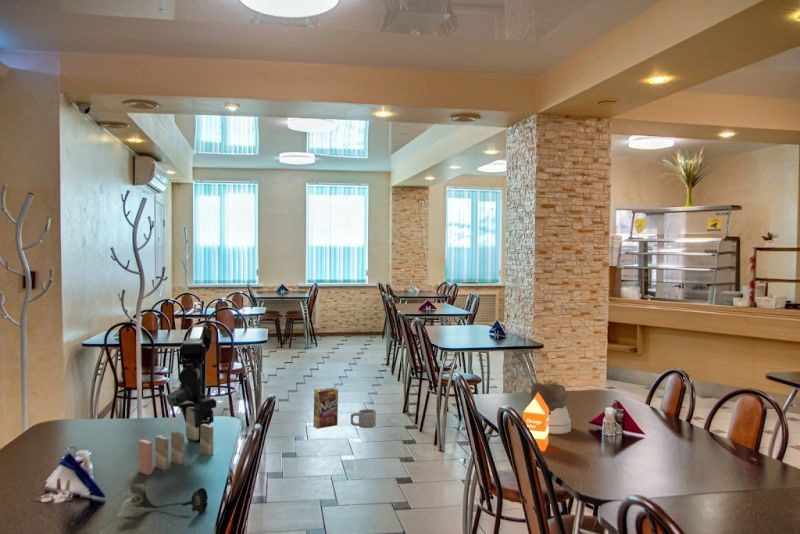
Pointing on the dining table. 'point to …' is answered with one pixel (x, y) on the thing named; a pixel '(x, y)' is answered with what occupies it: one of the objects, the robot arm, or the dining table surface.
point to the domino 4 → (191, 425)
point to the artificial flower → (139, 499)
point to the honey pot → (559, 421)
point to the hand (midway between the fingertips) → (192, 426)
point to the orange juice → (538, 421)
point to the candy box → (325, 407)
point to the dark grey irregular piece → (550, 394)
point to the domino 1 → (145, 457)
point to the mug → (365, 418)
